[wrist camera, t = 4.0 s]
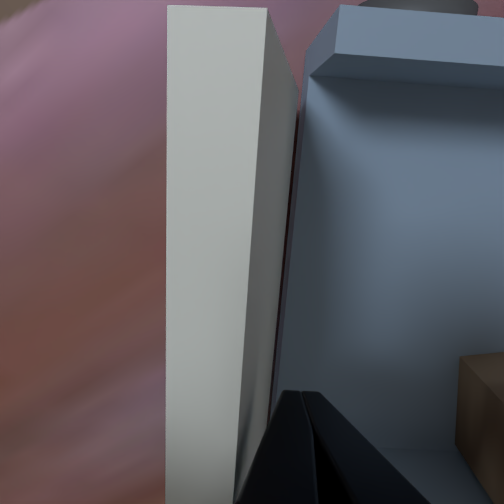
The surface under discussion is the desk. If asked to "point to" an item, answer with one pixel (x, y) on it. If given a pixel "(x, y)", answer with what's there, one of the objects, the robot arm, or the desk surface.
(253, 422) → the tall thin white panel
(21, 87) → the desk surface
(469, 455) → the brown cube
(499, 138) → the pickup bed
